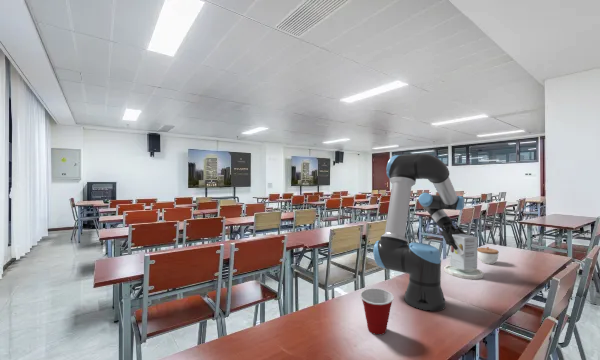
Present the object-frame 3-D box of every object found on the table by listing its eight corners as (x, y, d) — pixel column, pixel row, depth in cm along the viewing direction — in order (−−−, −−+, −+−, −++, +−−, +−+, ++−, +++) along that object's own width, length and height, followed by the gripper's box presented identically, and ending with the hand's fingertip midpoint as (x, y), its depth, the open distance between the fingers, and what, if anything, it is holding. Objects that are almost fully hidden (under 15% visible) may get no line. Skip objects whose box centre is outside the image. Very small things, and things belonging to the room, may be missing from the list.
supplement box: (449, 265, 151) (449, 234, 150) (462, 263, 153) (462, 233, 153) (464, 270, 141) (464, 238, 141) (477, 268, 144) (478, 236, 144)
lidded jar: (498, 266, 158) (498, 250, 158) (476, 263, 165) (476, 247, 165) (498, 262, 167) (498, 246, 167) (477, 259, 173) (477, 244, 173)
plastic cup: (353, 330, 91) (353, 294, 91) (370, 318, 99) (370, 285, 99) (383, 344, 84) (383, 304, 84) (399, 330, 91) (399, 294, 91)
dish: (463, 280, 136) (464, 277, 136) (436, 269, 153) (436, 266, 153) (492, 277, 141) (492, 274, 141) (462, 266, 158) (462, 263, 158)
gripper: (450, 222, 166) (477, 254, 152) (424, 224, 156) (449, 259, 142) (459, 214, 161) (487, 247, 147) (432, 216, 151) (459, 252, 137)
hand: (468, 253), depth 145 cm, fingers closed on supplement box, 10 cm apart
